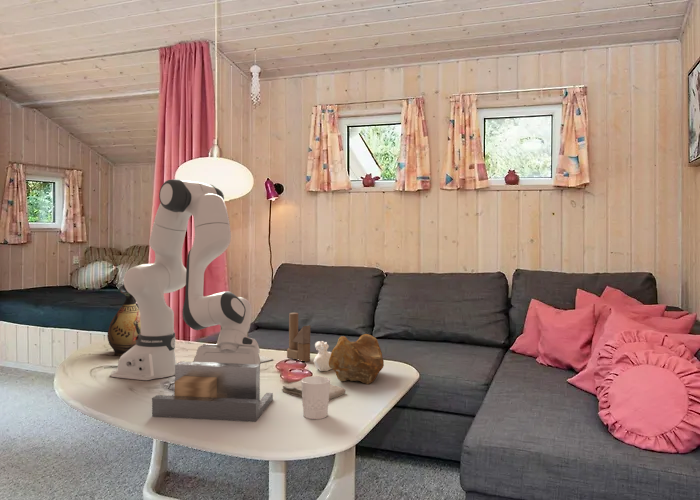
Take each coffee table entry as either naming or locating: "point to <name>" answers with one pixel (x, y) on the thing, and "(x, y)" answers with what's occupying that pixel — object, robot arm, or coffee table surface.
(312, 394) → the white cup
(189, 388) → the oak block
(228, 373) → the block
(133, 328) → the ceramic jug
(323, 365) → the bust
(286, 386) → the washcloth
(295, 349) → the wooden block
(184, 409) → the base
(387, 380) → the coffee table surface
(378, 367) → the rough brown rock
